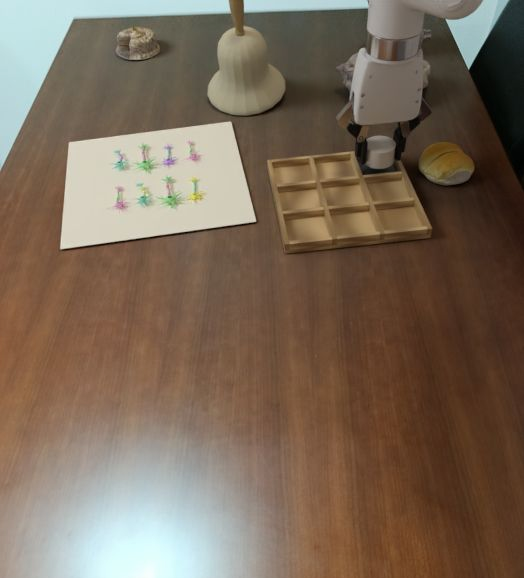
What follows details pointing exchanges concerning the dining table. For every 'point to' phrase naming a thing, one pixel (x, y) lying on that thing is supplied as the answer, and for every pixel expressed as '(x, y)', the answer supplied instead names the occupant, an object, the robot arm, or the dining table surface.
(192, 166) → the printed paper
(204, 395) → the dining table surface
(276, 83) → the handbell
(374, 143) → the white cylinder puck
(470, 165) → the bread roll
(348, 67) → the geode
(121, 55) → the cake
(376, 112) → the robot arm
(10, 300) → the dining table surface
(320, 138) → the dining table surface
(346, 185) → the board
